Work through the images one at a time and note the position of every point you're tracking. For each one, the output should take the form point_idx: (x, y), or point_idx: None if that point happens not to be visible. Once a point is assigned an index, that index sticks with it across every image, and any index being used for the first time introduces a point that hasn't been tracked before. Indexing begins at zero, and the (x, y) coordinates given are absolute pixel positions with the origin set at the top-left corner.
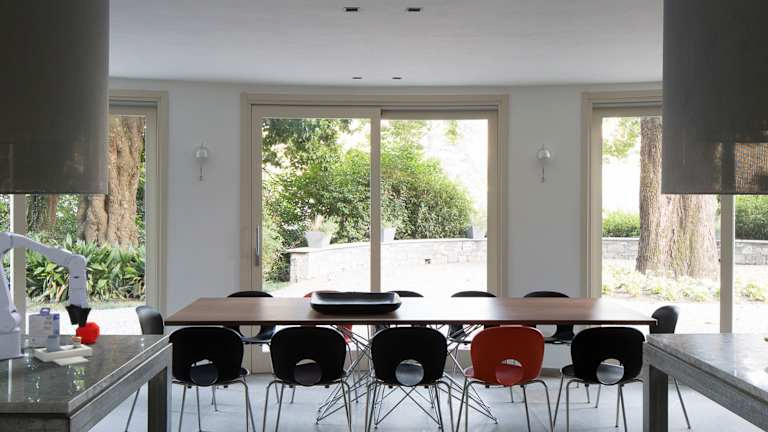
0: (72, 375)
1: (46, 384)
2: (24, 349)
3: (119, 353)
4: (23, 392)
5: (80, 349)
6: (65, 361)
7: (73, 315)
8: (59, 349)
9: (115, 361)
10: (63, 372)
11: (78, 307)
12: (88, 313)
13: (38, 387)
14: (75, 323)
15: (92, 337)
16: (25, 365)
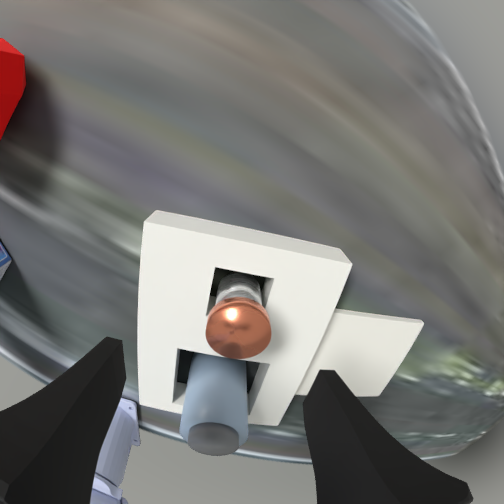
0: (466, 390)
1: (455, 426)
2: (8, 331)
3: (406, 133)
4: (449, 446)
5: (316, 314)
6: (363, 379)
7: (92, 440)
8: (239, 376)
9: (487, 253)
10: (434, 399)
11: (44, 490)
12: (421, 466)
13: (454, 434)
14: (120, 366)
15: (18, 84)
16: (272, 437)
